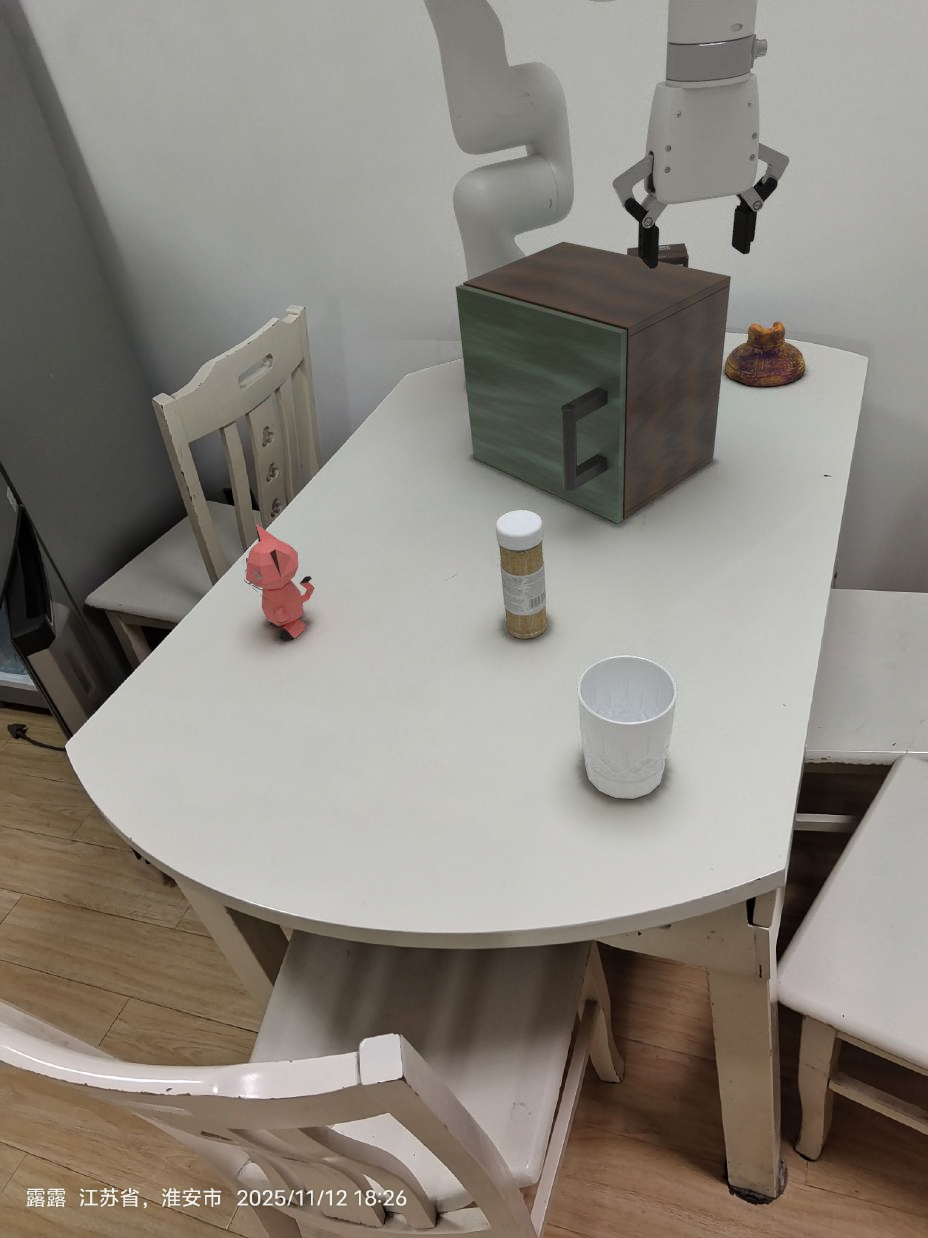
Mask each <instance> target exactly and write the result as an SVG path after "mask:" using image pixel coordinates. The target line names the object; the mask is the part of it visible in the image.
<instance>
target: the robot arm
mask: <svg viewBox="0 0 928 1238" xmlns="http://www.w3.org/2000/svg"><path fill="white" fill-rule="evenodd" d="M589 1H591V2H596V3H597V2H598V3H607V2H609V3H610V2H614V1H616V0H589ZM423 3H424V6H425V8H426V10H427V13H428V16H429V18H430V21H431V23H432V26H433V29H434V33H435V37H436V39H437V43H438V47H439V48H438V49H439V54H440V62H441V69H442V74H443V80H444V81H443V82H444V87H445V93H446V100H447V105H448V113H449V117H450V124H451V128H452V132H453V137H454V139H455V143H456V144H457V146H458V148H459V149H460V150H461V151H462V152H463V153H465V154H467V155H473V156H476V155H477V156H478V155H487V154H493V153H496V152H501V151H506V150H511V149H514V148H518V147H522V146H524V148H525V151H526V156H522V157H516V158H514V159H507V160H501V161H498V162H495V163H490V164H486V165H483V166H480V167H476V168H473V169H472V170H470V171H468V172H466V173H465V174H463V176H461V178H460V179H459V180H458V181H457V182H456V184H455V186H454V189H453V193H452V203H453V204H452V205H453V211H454V217H455V219H456V222H457V227H458V229H459V230H458V231H459V235H460V238H461V242H462V247H463V253H464V259H465V260H464V261H465V269H466V276H467V277H466V278H467V281H468V280H470V279H473V278H475V277H478V276H480V275H483V274H485V273H488V272H490V271H492V270H495V269H497V268H500V267H502V266H505V265H507V264H509V263H512V262H514V261H517V260H519V259H522V258H524V257H527V255H526V254H525V252H523V250H522V249H521V248H520V247H519V246H518V244H517V243H516V241H515V237H517V236H519V235H522V234H524V233H527V232H531V231H535V230H539V229H543V228H546V227H549V226H553V225H556V224H558V223H560V222H562V221H563V220H565V219H566V218H567V217H568V216H569V214H570V213H571V212H572V211H571V210H572V208H573V205H574V200H575V181H574V168H573V157H572V146H571V137H570V125H569V115H568V107H567V100H566V96H565V95H566V94H565V91H564V89H563V85H562V83H561V80H560V78H559V76H558V75H557V73H556V72H555V70H553V69H552V68H551V66H549V65H547V64H545V63H542V62H538V61H537V62H536V61H535V62H534V61H533V62H532V61H531V62H526V63H520V64H514V65H510V64H509V61H508V59H507V58H508V57H507V50H506V41H505V33H504V29H503V26H502V23H501V20H500V18H499V16H498V15H497V13H496V11H495V10H494V9H493V7H492V5H491V3H490V2H488V0H423ZM667 7H668V8H667V9H668V10H667V33H666V55H665V56H666V59H665V81H660V82H657V83H656V84H655V88H654V92H653V96H652V100H651V101H652V102H651V107H650V114H649V121H648V126H647V127H648V128H647V134H646V144H645V153H644V157H643V158H642V159H640V160H639V161H638V162H636V163H635V164H634V165H632V166H631V167H629V168H628V169H626V170H625V171H624V172H622V173H620V175H618V176H617V177H615V178H614V179H613V181H612V188H613V189H614V192H615V194H616V195H617V198H618V200H619V201H620V203H621V206H622V208H623V209H624V210H625V211H626V212H627V213H628V214H629V215H630V216H631V217H632V218H633V219H634V220H636V222H638V233H637V235H638V237H637V247H638V255H639V257H640V258H641V259H642V261H643V262H644V263H645V264H646V265H647V266H648V267H649V268H650V269H653V268H656V267H657V266H658V250H659V245H660V227H659V226H657V224H656V222H657V221H658V219H659V217H660V216H661V215H662V214H663V212H664V211H665V209H666V208H667V207H668V205H677V204H679V205H680V204H686V203H692V202H699V201H706V200H712V199H718V198H725V197H726V198H727V197H730V196H731V197H732V196H736V198H737V199H738V200H739V204H738V205H736V206H735V208H734V214H733V223H732V224H733V225H732V235H731V247H732V248H734V249H735V250H736V251H738V252H739V253H740V254H742V255H749V254H750V253H751V243H753V242H754V240H755V237H756V228H757V218H758V212H759V211H761V210H762V209H763V208H764V203H765V202H766V201H767V200H768V199H769V197H770V196H771V195H772V194H773V193H774V192H775V191H776V189H777V188H778V186H779V180H781V178H782V177H783V175H784V173H785V171H786V169H787V167H788V166H789V164H790V158H789V156H787V155H785V154H784V153H782V152H779V151H777V150H775V149H773V148H772V147H769V146H767V145H766V144H763V143H761V142H760V98H759V97H760V96H759V86H758V78H757V77H758V76H757V75H756V74H755V73H753V72H751V71H752V69H754V63H755V60H757V59H758V58H762V57H765V56H766V55H767V52H768V41H767V39H765V38H764V39H763V38H762V39H759V38H757V34H756V33H755V29H756V19H757V9H758V0H668V5H667ZM759 160H760V161H762V162H764V163H766V166H767V167H766V170H765V173H764V175H763V176H761V177H760V179H759V180H758V181H757V182H756V183H755V181H756V178H757V172H758V164H759V163H758V162H759ZM642 180H643V189H644V191H645V193H647V195H646V196H645V197H644V199H643V201H642V202H641V203H640V202H638V201H637V200H636V198H635V195H634V192H633V188H634V186H635V185H637V184H638V183H640V182H641V181H642Z"/></svg>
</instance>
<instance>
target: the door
mask: <svg viewBox="0 0 928 1238" xmlns="http://www.w3.org/2000/svg"><path fill="white" fill-rule="evenodd" d="M455 294H456V303H457V305H456V306H457V312H458V313H457V314H458V322H459V323H458V324H459V331H460V341H461V342H460V343H461V351H462V359H463V370H464V380H465V388H466V397H467V398H466V399H467V408H468V416H469V425H470V426H469V427H470V436H471V437H470V438H471V444H472V456H473V459H475V460H477V461H480V462H481V463H483V464H487V465H489V466H490V467H493V468H495V469H497V470H500V471H502V472H503V473H505V474H507V475H510V476H513V477H515V478H517V479H519V480H522V481H523V482H526V483H528V484H530V485H532V486H534V487H537V488H538V489H540V490H542V491H545V492H547V493H550V494H552V495H554V496H556V497H558V498H561V499H562V500H564V501H567V502H569V503H571V504H573V505H575V506H578V507H580V508H581V509H585V510H586V511H589V512H591V513H593V514H595V515H598V516H600V517H602V518H604V519H606V520H608V521H610V522H613V523H615V524H620V523H621V522H622V521H624V520H623V487H624V440H625V393H626V346H627V330H624V329H620V328H617V327H613V326H610V325H606V324H602V323H599V322H595V321H591V320H588V319H584V318H581V317H577V316H573V315H570V314H566V313H563V312H559V311H555V310H552V309H548V308H544V307H541V306H537V305H534V304H530V303H526V302H523V301H519V300H516V299H512V298H508V297H505V296H501V295H497V294H494V293H490V292H487V291H483V290H479V289H476V288H472V287H469V286H465V285H463V284H459V285H457V286H455Z"/></svg>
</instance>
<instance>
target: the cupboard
mask: <svg viewBox="0 0 928 1238" xmlns="http://www.w3.org/2000/svg"><path fill="white" fill-rule="evenodd" d="M731 278H732V276H731V275H726V274H721V273H717V272H711V271H707V270H702V269H697V268H692V267H689V266H688V267H684V266H679V265H674V264H669V263H664V262H659V261H658V266H657V267H656V268H653V269H650V268H649V267H648V266H647V265H646V264H645V263H644V262H643V261H642V259H641V258H640V257H635V256H630V255H627V253H626V254H625V253H620V252H615V251H611V250H606V249H602V248H596V247H592V246H587V245H582V244H577V243H573V242H568V241H561V242H558V243H556V244H553V245H551V246H549V247H547V248H544V249H542V250H538V251H536V252H534V253H532V254H529V255H526V257H524V258H522V259H519V260H517V261H514V262H512V263H509V264H507V265H505V266H502V267H500V268H497V269H495V270H492V271H490V272H488V273H485V274H483V275H480V276H478V277H475V278H473V279H470V280H468V279H467V280H465V281H463V282H462V285H465V286H469V287H472V288H476V289H479V290H483V291H487V292H490V293H494V294H497V295H501V296H505V297H508V298H512V299H516V300H519V301H523V302H526V303H530V304H534V305H537V306H541V307H544V308H548V309H552V310H555V311H559V312H563V313H566V314H570V315H573V316H577V317H581V318H584V319H588V320H591V321H595V322H599V323H602V324H606V325H610V326H613V327H617V328H620V329H624V330H627V346H626V393H625V440H624V487H623V521H625V520H627V519H628V518H629V517H631V516H633V515H635V514H636V513H637V512H639V511H640V510H642V509H643V508H645V507H646V506H647V505H650V504H651V503H652V502H654V501H655V500H657V499H659V498H660V497H662V496H663V495H664V494H666V493H667V492H669V491H670V490H672V489H674V488H675V487H676V486H678V485H680V484H681V483H683V482H684V481H685V480H687V479H688V478H690V477H691V476H693V475H695V474H696V473H697V472H700V471H701V470H702V469H703V468H705V467H707V466H708V465H710V464H711V463H713V462H714V454H715V446H716V445H715V444H716V435H717V425H718V424H717V423H718V415H719V405H720V404H719V403H720V394H721V393H720V392H721V383H722V371H723V362H724V352H725V341H726V330H727V320H728V309H729V302H730V301H729V300H730V291H731V290H730V289H731V280H732V279H731Z"/></svg>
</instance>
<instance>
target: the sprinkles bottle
mask: <svg viewBox="0 0 928 1238" xmlns="http://www.w3.org/2000/svg"><path fill="white" fill-rule="evenodd" d="M495 534H496V535H495V536H496V542H497V545H498V547H499V557H500V558H499V559H500V575H501V576H500V577H501V586H502V596H503V605H504V610H505V628H506V631H507V632H508V633H509V634H510V635H511V636H513V637H514V638H517V639H533V638H537V637H538V636H540V635H541V634H543V633H544V632H545V631H546V630H547V628H548V624H549V621H548V617H547V606H546V605H547V590H546V572H545V560H544V551H543V541H544V540H543V539H544V524H543V520H542V518H541V516H540V515H539V514H537V513H536V512H533V511H530V510H526V509H525V510H524V509H517V510H512V511H508V512H506V513H504V514H502V515H501V516H500V517H499V518H497V521H496V523H495Z"/></svg>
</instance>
